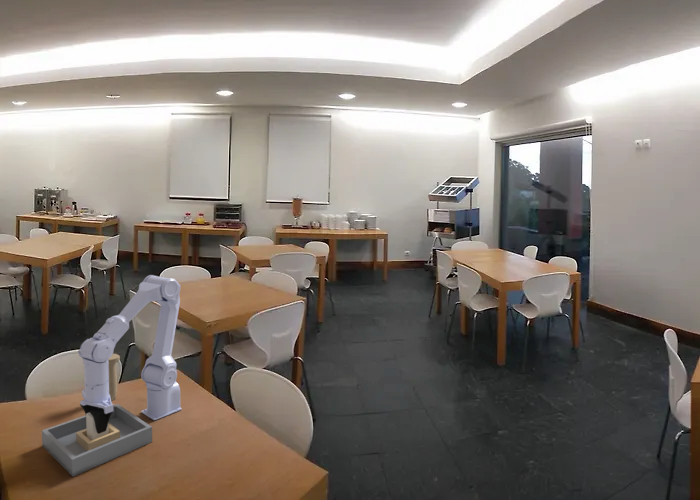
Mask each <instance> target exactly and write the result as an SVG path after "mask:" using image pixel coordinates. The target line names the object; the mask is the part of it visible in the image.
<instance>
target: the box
mask: <svg viewBox="0 0 700 500" xmlns="http://www.w3.org/2000/svg"><path fill="white" fill-rule="evenodd" d="M113 406H115V409H114V411H113V412H112V414H111V416H110V419H109V422H108V424H109V434H107V435H104V436H102V437H99V438H96V439H94V440H90V439H88V438H87V427H86V414H85V415H82V416H80V417H77V418H73V419H70V420H68V421H65V422H62V423H60V424H57V425H53V426H50V427H47V428H44V429H42V430H41V443H42V444H41V446H42V447H43V449H45V450H46V452H48V453H49V455H51V456H52V457H53V458H54V459H55V461H57V463H59V465H61V466H62V468H63V469H64V470H65V471H66V472H67V473H68V474H70V476H71V477H76V476H78V475H80V474H83V473H85V472H87V471H89V470H91V469H94V468H96V467H99V466H101V465H103V464H104V463H107V462H110V461H112V460H115V459H117V458H119V457H122V456H123V455H126V454H128V453H130V452H133V451H134V450H137V449H139V448H141V447H144V446H146V445H148V444H151V443H152V442H153V426H152V425H150V424H148V423H147V422H146V421H144V420H142V419H141V418H139V417H138V416H137V415H135V414H134V413H133V412H131V411H129V410H128V409H126V408H124V407H123V406H121V405H120V404H118V403H117V404H113Z"/></svg>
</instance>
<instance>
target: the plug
mask: <svg viewBox="0 0 700 500" xmlns="http://www.w3.org/2000/svg"><path fill="white" fill-rule="evenodd" d="M85 415H86V427H87V438H88V439H90V440H94V439H96V438H99V437H102V436H104V435H107V434H109V424H108V426H107V429H106V431H105V432H102V433H99V434H98V433H97V431H96V427H95V421H94V418H93V416H92V415H91V413H87V414H85Z"/></svg>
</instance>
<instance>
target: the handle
mask: <svg viewBox="0 0 700 500" xmlns="http://www.w3.org/2000/svg"><path fill="white" fill-rule="evenodd" d="M120 359H121V356H120V355H119V354H117V353H113V354H112V356H111V357H110V358H109V359H108V362H109V394H110V398H111V402H112V401H114V400H116V399H117V391H118V378H117V377H118V376H117V363H118V362H119V361H120Z"/></svg>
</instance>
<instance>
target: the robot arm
mask: <svg viewBox="0 0 700 500" xmlns="http://www.w3.org/2000/svg"><path fill="white" fill-rule="evenodd" d="M181 287H182V286H181V284H180V283H179V282H178V280H176V278H174V277H172V278H171V277H170V278H169V277H163V276H158V275H154V274H149V275H147V276H146V277H145V278H144V279H143V280H142V282H140V283H139V285H138V290H137V291H136V292H135V294H134V295H133V296H132V297H131V299H130V300H129V302H128V303H126V305H125V306H124V307H123V309H122V310H121V311H120V313H119V314H117V315H113V316H111V317H108V318H107V319H106V320H105V323H104V324H103V325H102V327H100V329H99V330H98V331H97V332H95V333H94V335H93V336H92V337H89V338H87V339H86V340H84V341H83V342H82V343H81V344H80V347H79V350H78V355H79V357H80V358H81V359H82V364H83V372H84V373H83V375H84V377H83V379H84V380H83V383H84V389H83V390H81V397H82V398H83V400H80V401H79V406H80V407H81V408H82V410H83V412H84V414H85V415H86V414H87V413H91V415H92V416H93V418H94V421H95V427H96V431H97V433H98V434H99V433H102V432H105V431H106V429H107V426H108V422H109V419H110V416H111V414H112V412H113V411H114V409H115V406H114V403H112V401H111V398H110V394H109V362H108V359H109V358H110V357H111V356H112V354H114V350H115V348H116V346H117V343H118V342H119V341H120V339H121V338H122V337H124V335H125V334H126V333H127V331H128V330H129V329H130V322H131V321H132V319H134V318H135V317H136V316H137V315H138V314H139V313H140V312H141V311H142V309H144V308H145V307H146V306H147V305H148V304H149V303H153V302H156V303H158V305H160V308H159V309H160V310H159V314H158V321H157V328H156V331H155V339H154V346H153V350H152V355H150V356H149V357H148V358H147V359H146V360H145V364H144V366H143V368H142V370H141V373H140V376H141V377H140V378H141V380H142V381H143V382H145V384H144V385H145V387H146V408H145V409H142V410H141V412H140V413H142V414H143V415H145V416H147V417H148V418H149V419H151V420H153V421H157V420H159V419H161V418H164V417H167V416H169V415H171V414H174V413H176V412H179V411H181V410H183V409H182V407H181V388H180V384H179V383H178V382H177V381H176V380H177V377H178V371H177V365H178V364H177V362H176V360H174V359H175V358H173V356H172V352H173V347H174V341H175V335H176V329H177V323H178V322H177V321H178V317H179V310H180V305H181V298H180V293H181Z"/></svg>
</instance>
